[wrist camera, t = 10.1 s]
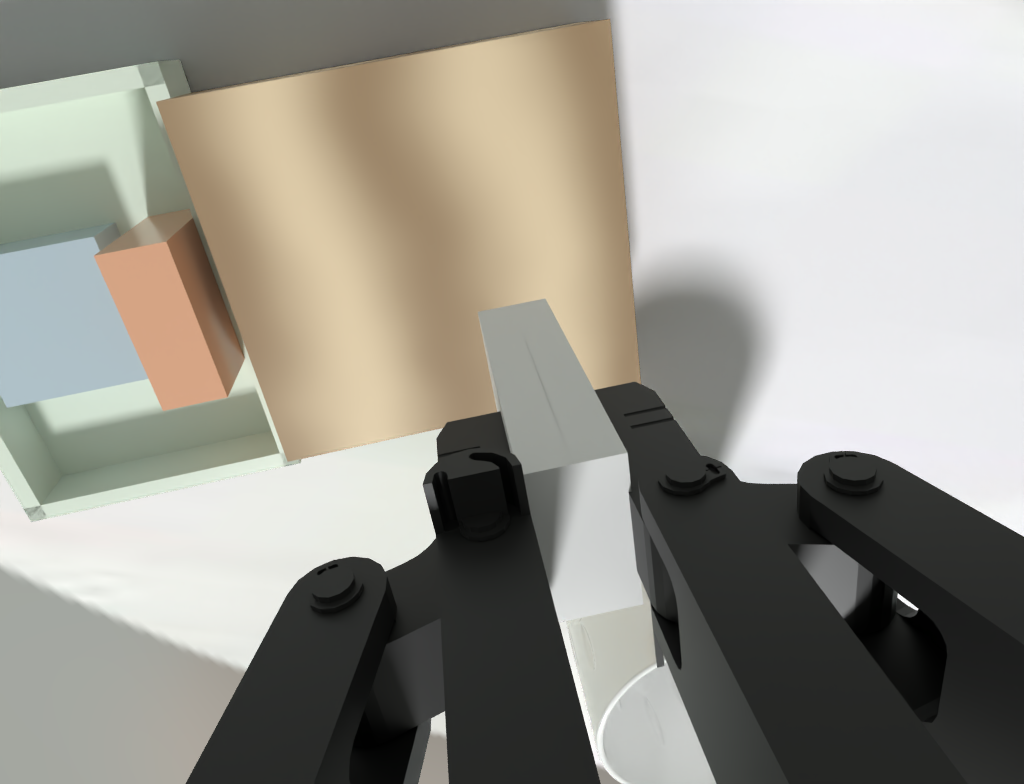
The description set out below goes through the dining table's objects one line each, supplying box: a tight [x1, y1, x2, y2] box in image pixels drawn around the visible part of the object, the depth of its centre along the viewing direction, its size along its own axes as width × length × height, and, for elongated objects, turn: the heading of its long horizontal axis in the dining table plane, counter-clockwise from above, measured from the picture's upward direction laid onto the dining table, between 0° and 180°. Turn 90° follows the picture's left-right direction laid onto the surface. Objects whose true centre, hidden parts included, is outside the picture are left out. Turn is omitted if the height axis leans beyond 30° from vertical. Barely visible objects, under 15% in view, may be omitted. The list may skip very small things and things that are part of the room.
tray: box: [0, 59, 301, 522], centre depth 24 cm, size 10×14×2 cm
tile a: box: [94, 209, 245, 411], centre depth 23 cm, size 5×5×2 cm
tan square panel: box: [156, 19, 641, 462], centre depth 25 cm, size 13×12×4 cm
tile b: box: [0, 222, 148, 408], centre depth 24 cm, size 5×5×2 cm
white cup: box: [566, 581, 716, 784], centre depth 30 cm, size 8×8×10 cm
